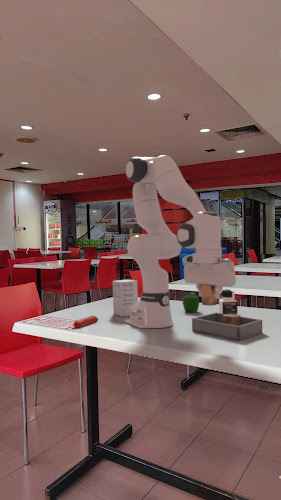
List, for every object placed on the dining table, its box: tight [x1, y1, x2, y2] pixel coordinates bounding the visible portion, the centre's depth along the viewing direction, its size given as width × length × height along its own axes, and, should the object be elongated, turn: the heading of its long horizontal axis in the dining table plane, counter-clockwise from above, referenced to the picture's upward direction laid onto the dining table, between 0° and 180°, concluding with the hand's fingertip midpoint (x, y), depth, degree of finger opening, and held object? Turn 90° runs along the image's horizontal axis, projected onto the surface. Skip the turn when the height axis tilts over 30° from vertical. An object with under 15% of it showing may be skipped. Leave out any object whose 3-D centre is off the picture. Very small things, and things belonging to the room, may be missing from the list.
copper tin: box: [201, 284, 217, 307], centre depth 129 cm, size 5×5×7 cm
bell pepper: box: [182, 291, 200, 313], centre depth 186 cm, size 8×8×10 cm
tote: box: [191, 312, 263, 342], centre depth 145 cm, size 22×16×5 cm
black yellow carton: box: [218, 288, 239, 315], centre depth 177 cm, size 7×7×12 cm
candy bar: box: [72, 315, 99, 329], centre depth 163 cm, size 16×4×3 cm, turn 153°
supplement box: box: [112, 279, 139, 318], centre depth 183 cm, size 10×9×17 cm
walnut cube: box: [222, 314, 241, 326], centre depth 147 cm, size 5×5×5 cm
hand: (209, 297), depth 129 cm, fingers closed on copper tin, 5 cm apart
